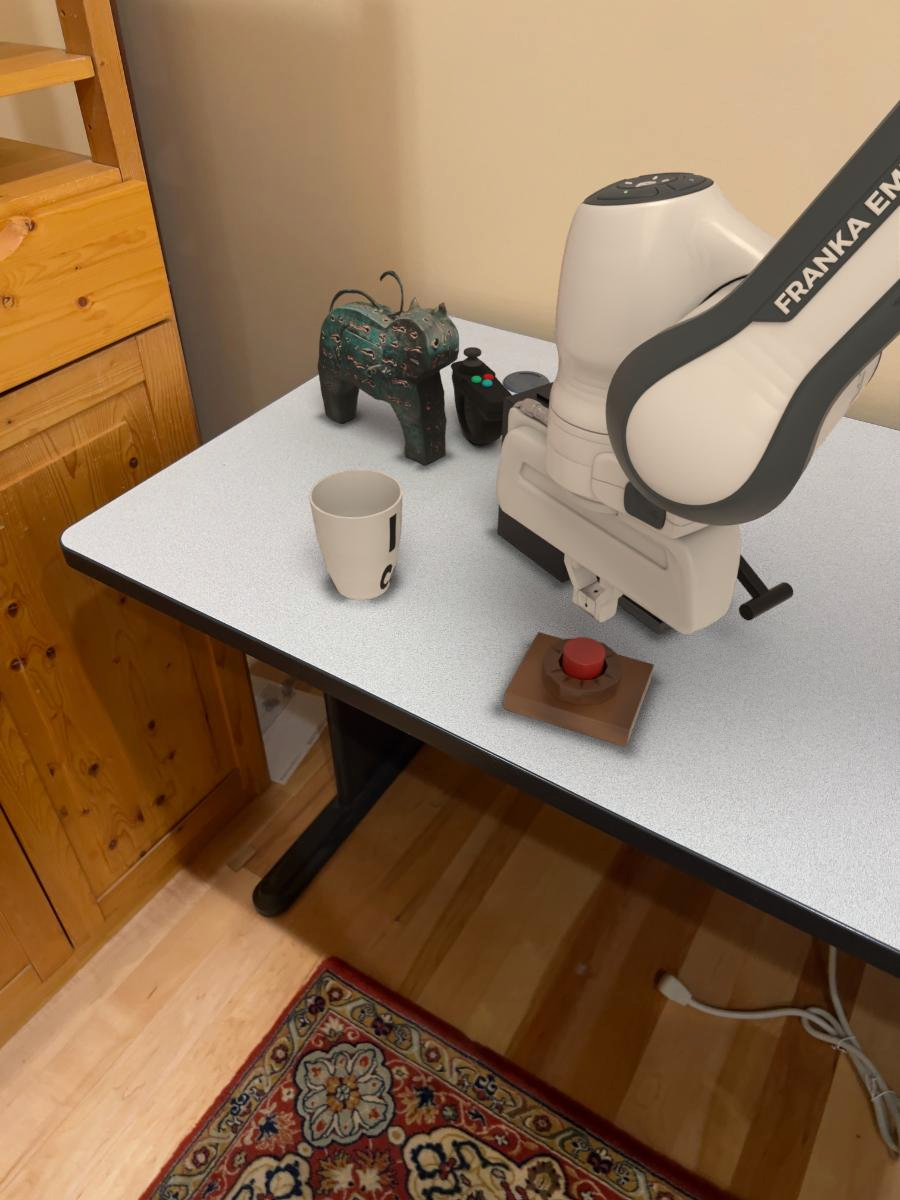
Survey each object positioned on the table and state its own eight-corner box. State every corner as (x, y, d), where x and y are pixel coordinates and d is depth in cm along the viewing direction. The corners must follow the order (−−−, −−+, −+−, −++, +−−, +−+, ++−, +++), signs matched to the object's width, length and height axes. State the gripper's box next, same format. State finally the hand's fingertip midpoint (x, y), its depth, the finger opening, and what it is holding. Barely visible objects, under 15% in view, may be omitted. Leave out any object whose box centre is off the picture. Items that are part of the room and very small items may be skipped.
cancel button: (607, 659, 70) (610, 643, 69) (596, 685, 68) (598, 668, 67) (569, 648, 71) (571, 632, 70) (556, 673, 69) (558, 657, 68)
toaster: (652, 541, 89) (677, 401, 79) (562, 583, 83) (577, 438, 74) (585, 497, 95) (601, 363, 85) (497, 533, 90) (503, 394, 80)
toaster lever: (783, 604, 73) (800, 589, 71) (743, 626, 71) (759, 612, 69) (674, 466, 78) (687, 449, 76) (633, 483, 75) (645, 466, 73)
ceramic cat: (462, 457, 102) (465, 283, 89) (423, 478, 98) (420, 300, 85) (348, 403, 112) (336, 240, 100) (308, 420, 108) (291, 253, 96)
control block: (650, 680, 73) (657, 649, 71) (626, 747, 67) (632, 715, 65) (536, 648, 76) (539, 617, 74) (503, 709, 70) (505, 677, 68)
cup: (402, 611, 80) (399, 519, 74) (313, 610, 80) (302, 517, 74) (408, 558, 86) (405, 469, 80) (325, 557, 86) (315, 468, 80)
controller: (478, 416, 110) (480, 338, 103) (519, 463, 101) (525, 381, 94) (445, 422, 108) (446, 343, 102) (485, 470, 99) (488, 387, 93)
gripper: (477, 401, 62) (475, 559, 71) (701, 530, 49) (665, 705, 58) (545, 378, 65) (534, 533, 74) (772, 495, 52) (728, 666, 61)
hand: (593, 610), depth 66 cm, fingers closed
